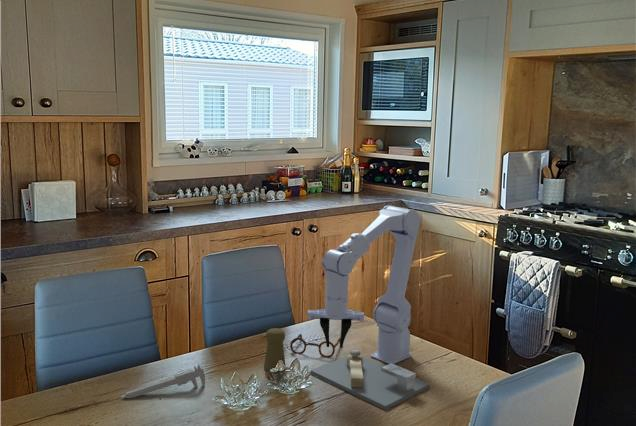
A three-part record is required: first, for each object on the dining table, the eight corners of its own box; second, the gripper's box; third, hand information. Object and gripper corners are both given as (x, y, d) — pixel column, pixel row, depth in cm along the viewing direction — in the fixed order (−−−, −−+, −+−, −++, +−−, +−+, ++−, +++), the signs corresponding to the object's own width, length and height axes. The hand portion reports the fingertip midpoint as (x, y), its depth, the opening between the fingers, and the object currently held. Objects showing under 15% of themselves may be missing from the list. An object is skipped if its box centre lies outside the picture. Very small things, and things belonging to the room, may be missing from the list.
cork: (282, 373, 163) (283, 335, 162) (260, 371, 165) (261, 332, 163) (288, 364, 169) (289, 327, 167) (267, 362, 170) (267, 324, 169)
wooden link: (346, 361, 169) (346, 348, 169) (362, 362, 169) (362, 348, 169) (348, 386, 155) (349, 372, 154) (365, 387, 155) (366, 372, 154)
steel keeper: (380, 382, 158) (381, 367, 158) (390, 377, 161) (391, 363, 160) (405, 393, 153) (406, 377, 152) (414, 388, 155) (415, 373, 155)
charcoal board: (355, 356, 177) (355, 352, 176) (429, 387, 158) (429, 384, 158) (310, 373, 164) (310, 370, 164) (385, 409, 146) (385, 406, 146)
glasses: (289, 354, 177) (290, 338, 177) (300, 338, 190) (301, 323, 189) (333, 359, 175) (334, 343, 174) (342, 343, 187) (342, 327, 186)
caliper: (204, 386, 156) (204, 363, 154) (205, 388, 155) (205, 364, 153) (120, 398, 148) (120, 374, 147) (120, 400, 147) (120, 375, 146)
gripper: (308, 299, 153) (306, 350, 156) (365, 302, 153) (363, 353, 156) (308, 291, 160) (307, 340, 163) (363, 293, 160) (361, 342, 162)
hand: (334, 345), depth 160 cm, fingers open, 3 cm apart
